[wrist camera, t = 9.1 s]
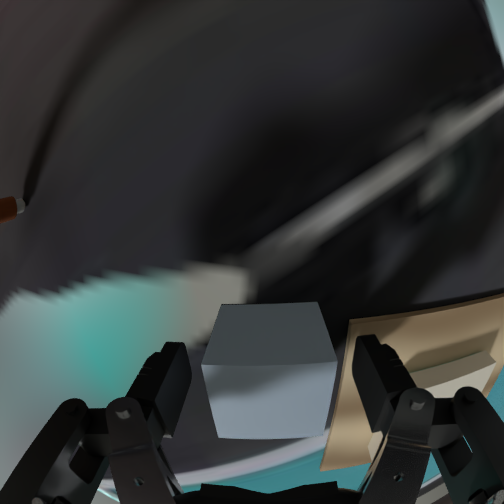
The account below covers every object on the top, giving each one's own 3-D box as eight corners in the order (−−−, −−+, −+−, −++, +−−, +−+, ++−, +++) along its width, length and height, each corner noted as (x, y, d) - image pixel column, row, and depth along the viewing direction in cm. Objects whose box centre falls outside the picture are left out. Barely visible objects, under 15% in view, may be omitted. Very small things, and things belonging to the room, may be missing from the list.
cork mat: (349, 319, 11) (351, 324, 11) (528, 286, 10) (531, 288, 10) (319, 467, 15) (320, 471, 15) (464, 426, 14) (466, 429, 14)
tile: (404, 394, 10) (496, 362, 9) (393, 373, 11) (483, 348, 11) (371, 461, 12) (455, 433, 11) (366, 444, 13) (447, 419, 13)
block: (221, 303, 11) (201, 364, 7) (317, 301, 11) (337, 361, 7) (230, 374, 12) (218, 437, 9) (311, 372, 12) (322, 435, 8)
